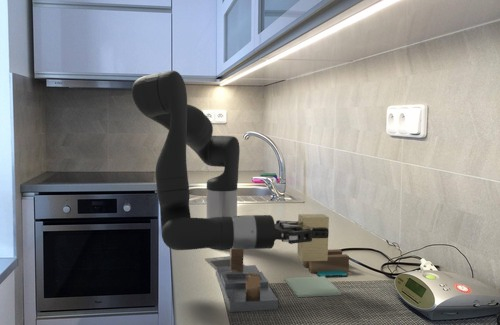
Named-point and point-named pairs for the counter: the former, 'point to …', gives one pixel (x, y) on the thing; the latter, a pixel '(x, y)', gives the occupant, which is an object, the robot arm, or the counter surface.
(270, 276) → the counter surface
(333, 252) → the phone stand
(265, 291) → the grey slotted base
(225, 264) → the smartphone
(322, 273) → the smartphone
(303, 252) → the brushed brass block
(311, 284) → the pad
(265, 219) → the robot arm
